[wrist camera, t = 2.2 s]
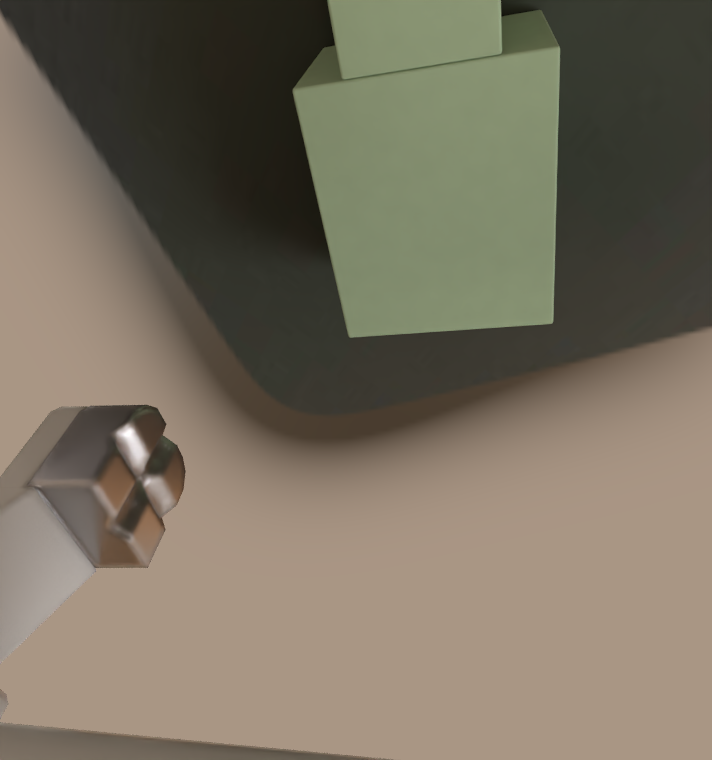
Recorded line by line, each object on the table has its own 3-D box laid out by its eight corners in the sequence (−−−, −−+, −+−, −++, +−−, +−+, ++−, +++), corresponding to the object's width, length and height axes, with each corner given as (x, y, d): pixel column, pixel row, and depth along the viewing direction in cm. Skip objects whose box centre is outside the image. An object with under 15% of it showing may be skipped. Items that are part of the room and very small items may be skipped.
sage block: (365, 268, 18) (348, 338, 16) (298, -77, 13) (256, -60, 10) (539, 252, 17) (553, 324, 15) (543, -131, 12) (565, -128, 9)
